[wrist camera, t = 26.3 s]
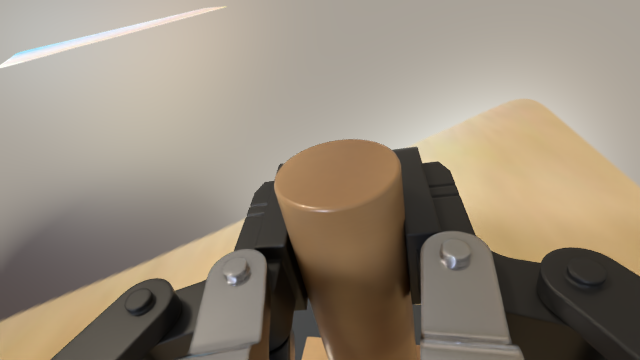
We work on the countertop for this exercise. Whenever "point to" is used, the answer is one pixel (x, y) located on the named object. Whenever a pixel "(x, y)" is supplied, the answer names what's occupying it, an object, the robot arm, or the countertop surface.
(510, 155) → the countertop surface
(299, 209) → the brush
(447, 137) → the countertop surface
